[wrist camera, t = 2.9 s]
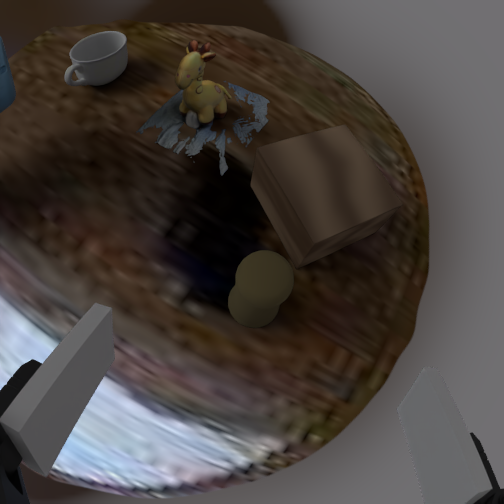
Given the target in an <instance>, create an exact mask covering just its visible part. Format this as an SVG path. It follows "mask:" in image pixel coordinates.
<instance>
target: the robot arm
mask: <svg viewBox="0 0 504 504" xmlns="http://www.w3.org/2000/svg"><path fill="white" fill-rule="evenodd" d="M15 96H16V91H15V86H14V82H13V78H12V74H11V70H10V67H9V63H8V59H7V55H6V51H5V48H4V44H3V41H2V38H1V37H0V113H1V112H2V111H4V110H5V109H6V108H7V107H9V106H10V105H11V104H12V103H13V101H14V100H15ZM114 359H115V355H114V341H113V324H112V308H110V307H107V306H104V305H101V304H97V303H95V304H94V305H93V306H92V307H91V308H90V309H89V311H88V312H87V313H86V314H85V315H84V316H83V317H82V318H81V319H80V321H79V322H78V323H77V324H76V325H75V326H74V327H73V329H72V330H71V331H70V332H69V333H68V334H67V335H66V337H65V338H64V339H63V340H62V341H61V342H60V344H59V345H58V346H57V347H56V348H55V349H54V351H53V352H52V353H51V354H50V355H49V357H48V358H47V359H46V360H45V361H44V363H43V364H42V363H40V362H38V361H36V360H33V359H32V360H31V361H29V362H27V363H25V364H23V365H22V366H21V367H20V368H19V369H18V370H17V371H16V372H15V374H14V375H13V377H11V378H10V380H9V381H8V382H7V385H5V386H4V387H3V388H2V389H1V390H0V504H30V502H29V499H28V495H27V492H26V488H25V484H24V481H23V477H22V473H21V469H20V467H19V464H20V463H21V461H22V459H23V460H24V462H25V463H26V465H27V466H28V467H29V468H31V469H32V470H34V471H36V472H38V473H40V474H41V475H43V476H45V477H47V475H48V473H49V471H50V469H51V468H52V466H53V464H54V462H55V460H56V458H57V456H58V455H59V453H60V451H61V449H62V447H63V446H64V444H65V442H66V440H67V438H68V437H69V435H70V433H71V431H72V430H73V428H74V426H75V424H76V423H77V421H78V419H79V417H80V416H81V414H82V412H83V411H84V409H85V407H86V405H87V404H88V402H89V400H90V399H91V397H92V395H93V394H94V392H95V390H96V389H97V387H98V385H99V384H100V382H101V380H102V379H103V377H104V376H105V374H106V372H107V371H108V369H109V367H110V366H111V364H112V363H113V361H114ZM397 412H398V415H399V418H400V421H401V424H402V427H403V431H404V434H405V437H406V440H407V444H408V447H409V450H410V454H411V457H412V461H413V464H414V467H415V471H416V475H417V478H418V482H419V486H420V489H421V493H422V497H423V501H424V504H504V489H500V487H499V485H498V483H497V480H496V477H495V475H494V473H493V470H492V468H491V465H490V463H489V461H487V456H486V454H485V453H484V449H483V447H482V445H481V443H480V441H479V440H478V439H477V437H476V436H475V435H474V434H473V433H469V431H468V429H467V427H466V424H465V422H464V420H463V418H462V416H461V414H460V412H459V410H458V408H457V406H456V404H455V402H454V400H453V398H452V396H451V394H450V392H449V390H448V388H447V386H446V384H445V382H444V380H443V378H442V376H441V375H440V373H439V371H438V369H437V368H433V367H423V369H422V371H421V372H420V374H419V376H418V377H417V379H416V380H415V382H414V384H413V385H412V387H411V388H410V390H409V391H408V393H407V394H406V396H405V397H404V399H403V400H402V402H401V403H400V405H399V406H398V408H397Z"/></svg>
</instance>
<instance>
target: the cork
mask: <svg viewBox="0 0 504 504" xmlns="http://www.w3.org/2000/svg"><path fill="white" fill-rule="evenodd" d="M293 284H294V276H293V271H292V268H291V266H290V264H289V263H288V261H287V260H286V259H285V258H284V257H282V256H281V255H279V254H278V253H276V252H272V251H269V250H260V251H257V252H254V253H251V254H250V255H248V256H247V257H246V258H244V259H243V261H242V262H241V263H240V265H239V266H238V269H237V272H236V284H235V286H234V287H233V288H232V290H231V291H230V294H229V298H228V307H229V310H230V313H231V315H232V316H233V317H234V319H235V320H236V321H237V322H239V323H240V324H242V325H243V326H247V327H250V328H259V327H262V326H265V325H267V324H269V323H270V322H271V321H272V320H274V318H275V316H276V315H277V313H278V310H279V306H280V304H281V303H282V302H284V301H285V300H286V299H287V298H288V296H289V295H290V293H291V292H292V288H293Z"/></svg>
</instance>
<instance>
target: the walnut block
mask: <svg viewBox="0 0 504 504" xmlns="http://www.w3.org/2000/svg"><path fill="white" fill-rule="evenodd" d="M251 187H252V189H253V191H254V193H255V194H256V196H257V198H258V200H259V202H260V203H261V205H262V207H263V209H264V211H265V212H266V214H267V216H268V218H269V220H270V221H271V223H272V225H273V227H274V229H275V231H276V232H277V234H278V236H279V238H280V240H281V242H282V243H283V245H284V247H285V249H286V251H287V253H288V255H289V256H290V258H291V260H292V262H293V264H294V266H295V268H296V269H299V268H301V267H303V266H305V265H307V264H309V263H312V262H314V261H316V260H318V259H320V258H322V257H325V256H327V255H329V254H331V253H333V252H335V251H337V250H340V249H342V248H344V247H346V246H348V245H350V244H352V243H354V242H357V241H359V240H361V239H363V238H365V237H367V236H369V235H371V234H373V233H375V232H376V231H377V230H378V229H379V228H380V227H381V226H382V225H383V224H384V223H385V222H386V221H387V220H388V219H389V218H390V217H391V216H392V215H393V214H394V213H395V212H396V211H397V210H398V209H399V208H400V207H401V206H402V205H403V204H402V202H401V201H400V199H399V198H398V196H397V195H396V193H395V192H394V190H393V189H392V187H391V186H390V184H389V183H388V182H387V180H386V179H385V177H384V176H383V174H382V173H381V172H380V170H379V169H378V167H377V166H376V165H375V163H374V162H373V160H372V159H371V158H370V156H369V155H368V154H367V152H366V151H365V150H364V148H363V147H362V146H361V144H360V143H359V142H358V140H357V139H356V138H355V136H354V135H353V134H352V133H351V131H350V130H349V129H348V128H347V126H346V125H341V126H337V127H333V128H328V129H324V130H320V131H316V132H312V133H308V134H305V135H301V136H297V137H293V138H290V139H286V140H282V141H279V142H275V143H272V144H268V145H265V146H261V147H258V148H257V151H256V156H255V162H254V168H253V174H252V180H251Z"/></svg>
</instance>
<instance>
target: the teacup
mask: <svg viewBox="0 0 504 504" xmlns="http://www.w3.org/2000/svg"><path fill="white" fill-rule="evenodd" d="M126 41H127V39H126V36H125V35H124V34H122V33H120V32H115V31H106V32H100V33H96V34H93V35H90V36H88V37H86V38H84V39H82V40H81V41H79V42H78V43H77V44H76V45H75V46H74V47H73V48H72V49H71V51H70V58H71V59H72V63H73V65H71V66H70V67H69V68H68V69H67V70H66V73H65V81H66V83H67V84H68V85H71V86H79V85H82V86H86V85H87V84H88V85H93V86H99V85H104V84H107V83H110V82H112V81H113V80H115V79H116V78H117V77H118V76H119V75H121V74H122V72H123V71H124V70H125V68H126V66H127V61H128V56H127V46H126ZM74 71H75V73H76V75H77V77H78V79H79V80H77V81H73V80H72V73H73V72H74Z"/></svg>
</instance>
